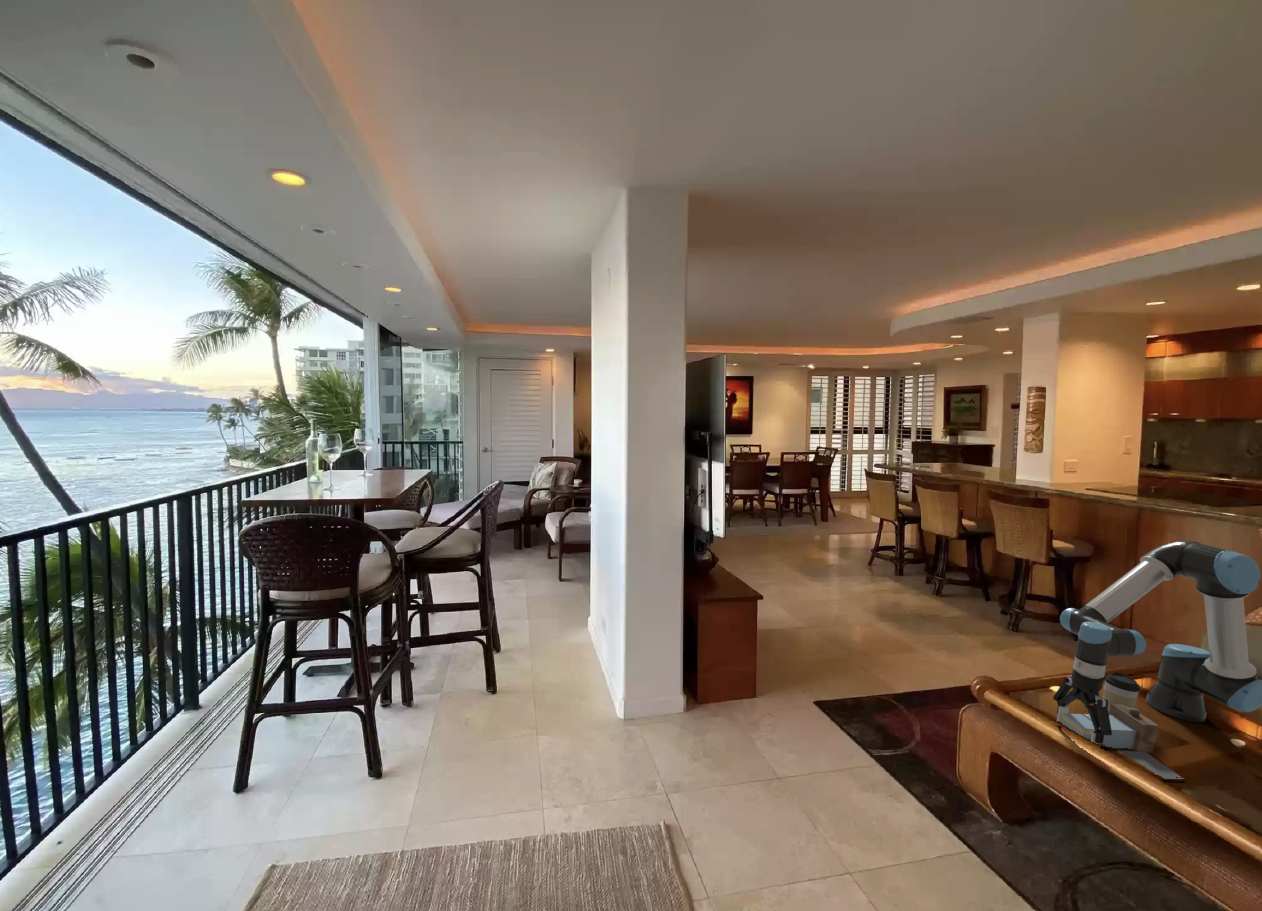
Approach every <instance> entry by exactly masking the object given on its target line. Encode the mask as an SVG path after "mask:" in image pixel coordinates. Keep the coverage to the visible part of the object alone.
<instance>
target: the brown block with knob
mask: <svg viewBox="0 0 1262 911" xmlns="http://www.w3.org/2000/svg"><path fill="white" fill-rule="evenodd" d="M1109 715H1114V716H1115V717H1117V718H1118V719H1120V720H1121V721H1122V722H1124V723H1125V724H1127V725H1128V726H1130V727H1131V728H1133V729H1134V730H1136V735H1135V740H1134V745H1133V749H1134V750H1133V749H1132V750H1133V751H1140V752H1146V753H1148V754H1149V753H1150V754H1154V751H1155V745H1156V741H1157V735H1158V731H1159V727H1160V725H1159V724H1157V723H1156V722H1154V721H1153V720H1151V719H1149V718H1148V717H1146V716H1144V715H1143V714H1141V710H1140V709H1139V708H1136V707H1135V708H1132V707H1131V708H1130V707H1129V706H1127V705H1121V704H1111V707H1110V712H1109Z"/></svg>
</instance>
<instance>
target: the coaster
mask: <svg viewBox="0 0 1262 911" xmlns="http://www.w3.org/2000/svg"><path fill="white" fill-rule="evenodd" d="M1117 750H1118V749H1117ZM1118 751H1120V752H1123V754H1124V756H1127V757H1129V758H1131V759H1133V760H1135V761H1137V762H1139V763H1140V764H1141V765H1143V766H1145V767H1146V768H1147V769H1149V770H1150V771H1152V772H1154V774H1156V775H1159V776H1161V777H1163V778H1164V779H1184V778H1183V777H1182V776H1180V775H1179V774H1178V773H1177V772H1175V771H1174V770H1172V769H1171V768H1169V767H1168V766H1166V765H1165V764H1163V763H1162V762H1160V761H1159V760H1158V759H1156V758H1155V757H1153V756H1152V755H1151V754H1149V753H1146V752H1140V751H1135V750H1118ZM1176 777H1178V778H1176ZM1180 777H1181V778H1180Z"/></svg>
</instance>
